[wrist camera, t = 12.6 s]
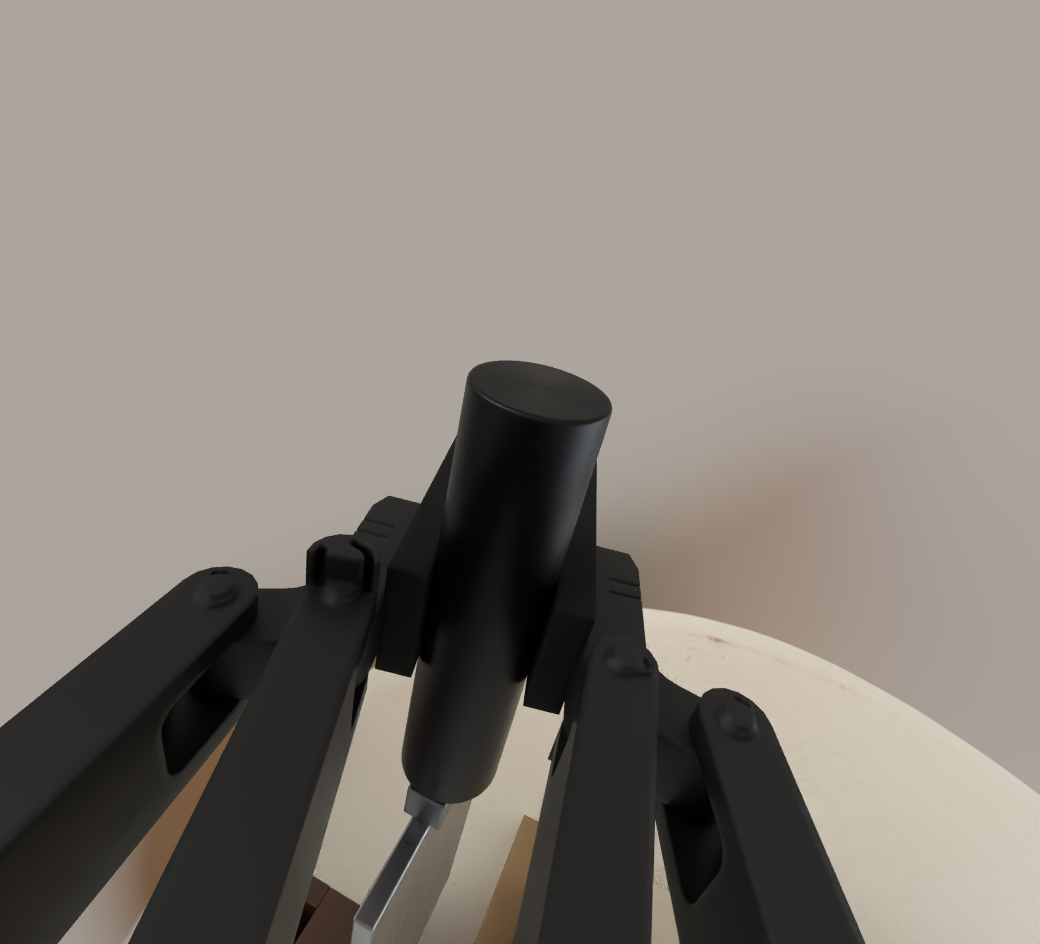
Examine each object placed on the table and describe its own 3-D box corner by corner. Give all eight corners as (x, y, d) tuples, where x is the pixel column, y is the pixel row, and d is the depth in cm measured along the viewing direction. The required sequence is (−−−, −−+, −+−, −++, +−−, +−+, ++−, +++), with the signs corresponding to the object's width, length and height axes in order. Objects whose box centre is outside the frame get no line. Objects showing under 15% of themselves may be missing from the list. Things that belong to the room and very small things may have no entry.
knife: (303, 1074, 18) (341, 436, 6) (419, 858, 24) (544, 326, 12) (367, 1121, 17) (533, 515, 6) (469, 888, 23) (649, 360, 12)
